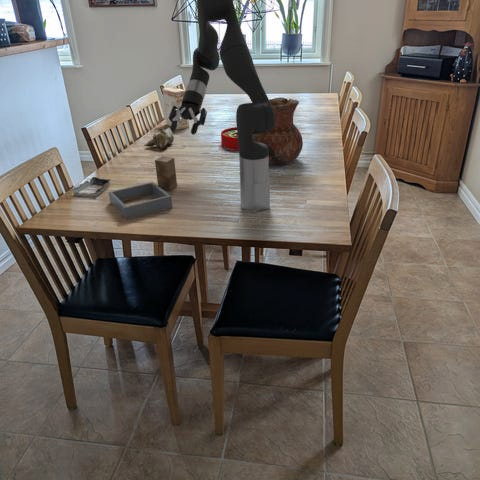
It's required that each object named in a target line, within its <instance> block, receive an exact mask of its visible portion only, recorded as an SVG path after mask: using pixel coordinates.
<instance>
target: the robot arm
mask: <svg viewBox="0 0 480 480" xmlns="http://www.w3.org/2000/svg"><path fill="white" fill-rule="evenodd" d="M196 7H197V9H196V10H197V22H198V33H199V36H198V44H197V45H198V47H196V48H195V49H194V50H193V53H192V71H191V74H190V77H189V80H188V81H189V82H188V83H187V85H186V88H185V90H186V91H185V94H184V97H183V100H182V105H181V107H180V108H179V107H176V106H173V108H172V110H171V113H170V116H169V120H170V121H171V122H172V124H171V126H169V128H170V129H171V131H172V133H173V134H174V133H176V131H177V129H176V127H177V124H178V123H179V122H180V121H182V120H184V119H185V120H187V119H188V121H192V120H193V123H192V126H191V130H190V134H191V135H194V136H195V134H197V132H198V129H199V127H200V126H204V125H205V122H206V119H207V114H208V111H207V110H206V108H205V107H202V106H203V104H204V103H203V102H204V99H205V97H206V91H207V87H208V84H209V81H210V74H209V72H208V71H215V70H217V68H218V67H219V65H220V60H221V64H222V67H223V70H224V72H225V74H226V76H227V77H228V78H229V79H230V81H231V82H233V83H234V84H235V85H236V86H237V87H238V88H240V89H241V90H242V91H244V92H245V94H246V95H247V96H248V98H249V100H250V102H246V103H241V104H239V105H238V106H237V109H236V114H235V118H236V119H235V120H236V122H235V124H236V127H237V135H238V147H239V150H238V155H239V158H238V159H239V190H240V191H239V193H240V207H241V209H243V210H245V211H251V212H254V213H256V212H259V211H263V210H266V209H269V208H271V181H270V180H269V172H270V171H269V170H270V169H269V166H270V165H269V148H268V146H267V145H265V144H263V143H259V142H255V141H253V136H252V135H253V134H260V133H266V132H270V131H272V130H273V128H274V126H275V115H274V111H273V108H272V106H271V103H270V101H269V100H270V99H269V97H268V95H267V93H266V91H265V88H264V87H263V85H262V82H261V79H260V77H259V75H258V72H257V70H256V67H255V64H254V60H253V58H252V57H253V56H252V55H251V52H250V49H249V46H248V44H247V41H246V39H245V37H244V34H243V31H242V28H241V25H240V22H239V18H238V15H237V11H236V7H235V3H234V1H233V0H196ZM223 20H224V21H225V22H226V29H225V33H224V35H223V39H222V41H221V44H220V48H219V50H218V45H219V34H218V31H217V30H216V29H215V27H214V26H213V25H212V24H211V23H213V22H218V21H223ZM179 111H180V112H179ZM178 112H179V113H178ZM180 115H181V116H182V117H180ZM198 115H199V119H198Z"/></svg>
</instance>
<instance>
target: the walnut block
mask: <svg viewBox="0 0 480 480" xmlns="http://www.w3.org/2000/svg"><path fill="white" fill-rule="evenodd" d="M154 162H155V163H154V164H155V171H156V173H155V174H156V181H157V186H159V187H160V188H161V189H163V190H164V191H167V192H171V191H172V190H174V189H175V188H177V187H178V182H177V173H176V172H177V171H176V163H175V162H176V161H175V157H173V156H172V157H171V156H163V155H161V156H160V157H158V158H157V159H155V160H154Z"/></svg>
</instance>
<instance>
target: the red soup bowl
mask: <svg viewBox="0 0 480 480" xmlns="http://www.w3.org/2000/svg"><path fill="white" fill-rule="evenodd" d="M220 140H221V141H220V143H221V147H222V148H224V147H225V148H224V149H227V148H228V149H227V150H231V149H234V150H233V151H239V147H238V135H237V126H234V127H228V128H225V129H223V130H222V131H220Z"/></svg>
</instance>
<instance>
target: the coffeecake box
mask: <svg viewBox="0 0 480 480" xmlns="http://www.w3.org/2000/svg"><path fill="white" fill-rule="evenodd" d="M185 91H186V89H181V88H177V87H172V86H171V87H166V88H165V87H164V88H162V95H163V97H162V98H163V107H164V115H165V123H166V125H167V126H169V127H171V124H172V122H171V121H170V120H169V116H170V113H171V110H172V108H173V106H176V107H179V108H180V107H181V105H182V100H183V97H184V94H185ZM179 112H180V111H179ZM179 112H178V113H179ZM180 117H182V116H181V115H180ZM189 121H190V120H189V119H187V120H185V119H184V120H182V121H180V122H179V123H178V124H177V127H176V130H181V129H183V130H184V129H188V127H189V128H190V123H189Z"/></svg>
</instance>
